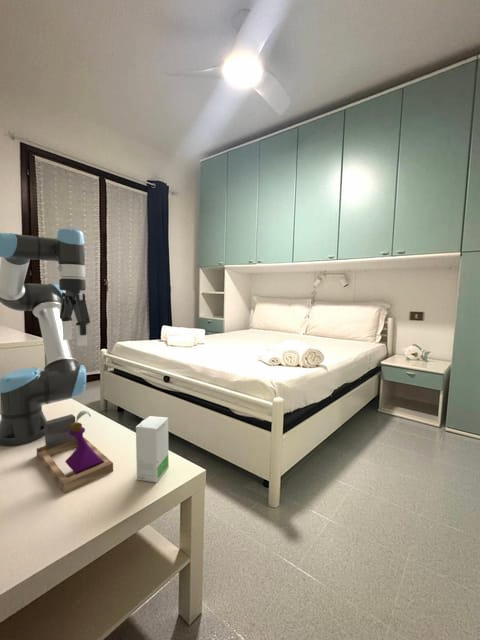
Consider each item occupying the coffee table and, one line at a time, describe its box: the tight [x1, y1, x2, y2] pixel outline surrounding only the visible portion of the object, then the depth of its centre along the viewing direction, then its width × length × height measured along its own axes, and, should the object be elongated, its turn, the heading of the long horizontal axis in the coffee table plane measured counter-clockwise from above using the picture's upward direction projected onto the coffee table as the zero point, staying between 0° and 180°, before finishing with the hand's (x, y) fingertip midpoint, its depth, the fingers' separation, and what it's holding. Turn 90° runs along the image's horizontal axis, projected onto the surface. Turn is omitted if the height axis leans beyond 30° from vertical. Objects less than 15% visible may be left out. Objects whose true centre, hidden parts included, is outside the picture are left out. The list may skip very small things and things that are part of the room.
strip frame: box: [36, 414, 114, 494], centre depth 90 cm, size 24×13×10 cm, turn 48°
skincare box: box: [135, 415, 170, 483], centre depth 86 cm, size 8×7×16 cm
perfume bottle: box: [64, 410, 102, 475], centre depth 85 cm, size 8×8×18 cm
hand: (74, 342), depth 99 cm, fingers open, 13 cm apart
